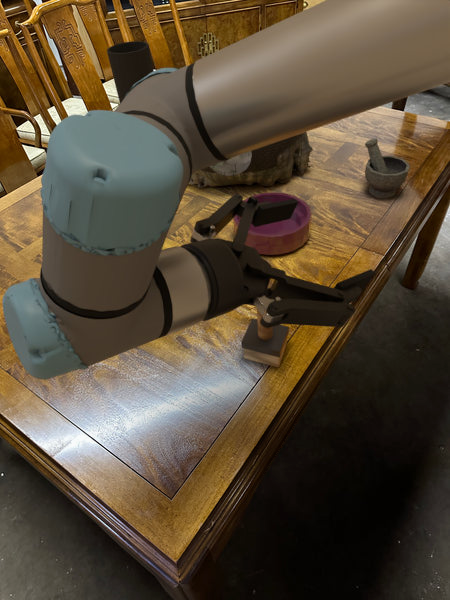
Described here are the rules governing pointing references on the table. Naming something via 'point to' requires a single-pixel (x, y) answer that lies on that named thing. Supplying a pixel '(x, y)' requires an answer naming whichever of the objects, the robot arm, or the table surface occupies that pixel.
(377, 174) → the mortar and pestle
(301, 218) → the bowl
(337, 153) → the table surface
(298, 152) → the basket
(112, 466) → the table surface
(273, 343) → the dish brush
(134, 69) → the vase
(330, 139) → the table surface
